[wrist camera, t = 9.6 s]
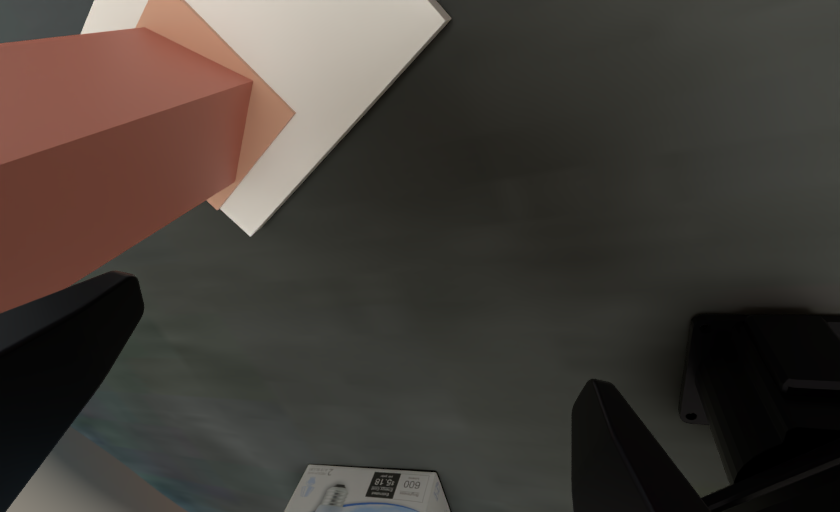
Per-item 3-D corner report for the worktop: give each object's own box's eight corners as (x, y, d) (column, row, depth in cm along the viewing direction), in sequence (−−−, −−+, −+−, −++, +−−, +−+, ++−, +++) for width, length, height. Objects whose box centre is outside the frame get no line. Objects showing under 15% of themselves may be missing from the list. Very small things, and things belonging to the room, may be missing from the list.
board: (224, -250, 15) (196, -269, 14) (451, 18, 18) (444, 21, 16) (88, 65, 22) (63, 69, 21) (263, 226, 25) (248, 238, 24)
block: (253, 80, 19) (-76, 190, 9) (234, 182, 22) (-34, 350, 12) (144, 26, 19) (-304, 77, 9) (139, 135, 22) (-209, 264, 12)
